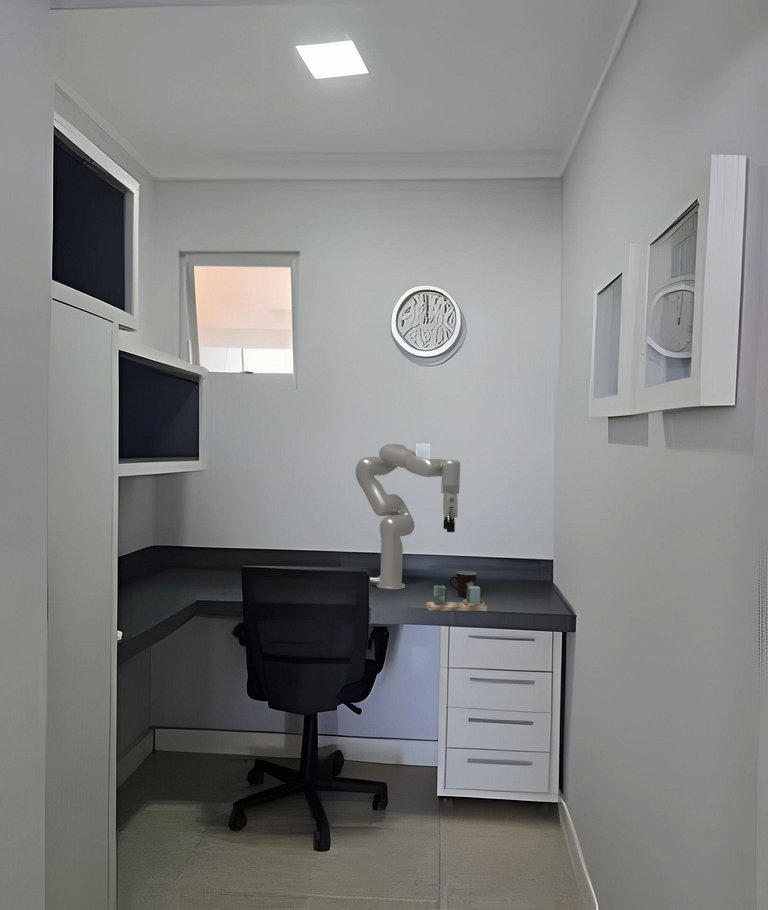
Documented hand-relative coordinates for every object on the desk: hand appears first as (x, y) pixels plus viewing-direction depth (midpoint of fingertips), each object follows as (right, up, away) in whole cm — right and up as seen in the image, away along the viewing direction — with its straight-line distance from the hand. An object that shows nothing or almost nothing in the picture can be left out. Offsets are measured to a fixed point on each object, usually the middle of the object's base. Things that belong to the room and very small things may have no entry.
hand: (448, 530), depth 337 cm
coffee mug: (+6, -29, +5) cm, 29 cm away
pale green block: (+8, -28, -18) cm, 34 cm away
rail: (+1, -29, -19) cm, 35 cm away
